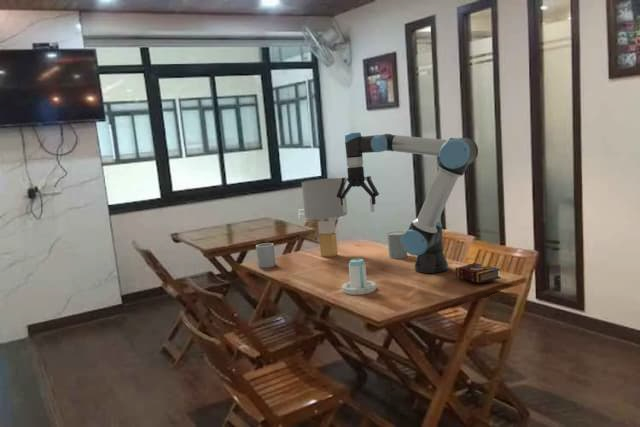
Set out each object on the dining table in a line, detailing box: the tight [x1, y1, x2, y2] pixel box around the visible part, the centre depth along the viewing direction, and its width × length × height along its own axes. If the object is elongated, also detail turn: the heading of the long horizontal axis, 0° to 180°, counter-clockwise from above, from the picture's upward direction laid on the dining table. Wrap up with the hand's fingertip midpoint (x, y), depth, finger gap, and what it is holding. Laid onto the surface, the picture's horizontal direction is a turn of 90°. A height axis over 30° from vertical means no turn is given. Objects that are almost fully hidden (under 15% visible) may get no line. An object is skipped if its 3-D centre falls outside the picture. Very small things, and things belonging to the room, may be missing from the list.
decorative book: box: [455, 262, 501, 284], centre depth 236 cm, size 11×16×5 cm
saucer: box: [341, 279, 377, 296], centre depth 233 cm, size 14×14×2 cm
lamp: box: [301, 177, 348, 258], centre depth 300 cm, size 23×23×42 cm
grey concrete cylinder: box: [387, 231, 408, 260], centre depth 288 cm, size 10×10×12 cm
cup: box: [255, 242, 276, 269], centre depth 290 cm, size 9×9×12 cm
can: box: [348, 258, 368, 289], centre depth 233 cm, size 7×7×12 cm
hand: (358, 212), depth 259 cm, fingers open, 13 cm apart
